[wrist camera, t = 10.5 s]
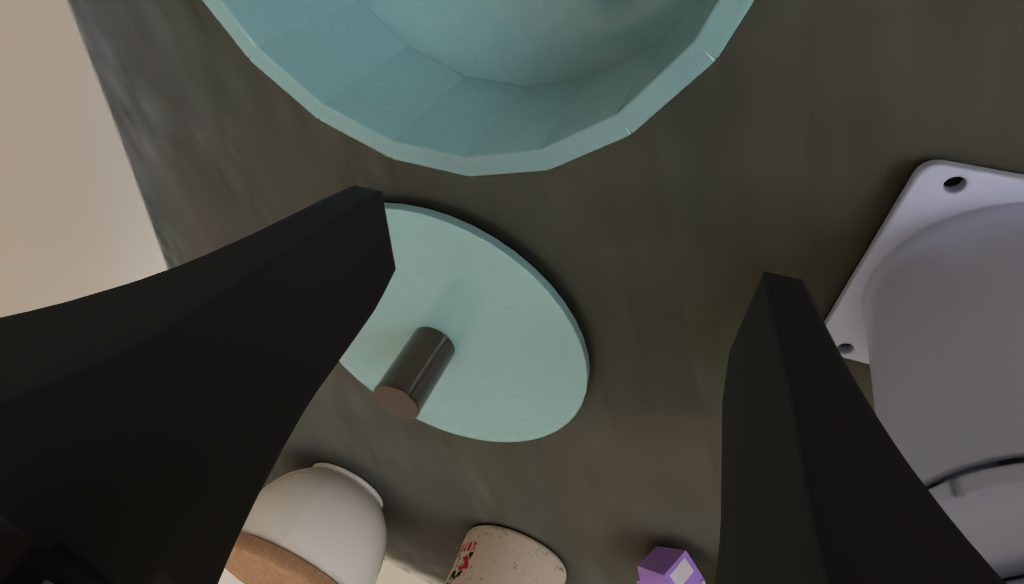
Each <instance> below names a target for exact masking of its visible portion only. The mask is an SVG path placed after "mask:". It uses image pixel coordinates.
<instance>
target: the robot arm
mask: <svg viewBox="0 0 1024 584" xmlns="http://www.w3.org/2000/svg"><path fill="white" fill-rule="evenodd" d="M952 177H962V178H963V180H962V181H961V182H960V183H959V184H957V185H954V186H945V185H944V182H946V181H947V180H948V179H950V178H952ZM395 270H396V267H395V262H394V256H393V251H392V245H391V240H390V234H389V228H388V223H387V217H386V212H385V206H384V201H383V195H382V191H378V190H373V189H368V188H364V187H359V186H352V187H350V188H347V189H345V190H343V191H340V192H338V193H336V194H334V195H332V196H329V197H327V198H325V199H323V200H321V201H319V202H317V203H315V204H313V205H311V206H309V207H307V208H305V209H303V210H301V211H299V212H297V213H295V214H293V215H291V216H289V217H287V218H284V219H282V220H280V221H278V222H276V223H274V224H272V225H270V226H268V227H266V228H264V229H262V230H260V231H258V232H256V233H254V234H251V235H249V236H247V237H245V238H243V239H240V240H238V241H236V242H234V243H231V244H229V245H227V246H225V247H222V248H220V249H218V250H216V251H213V252H211V253H209V254H207V255H204V256H202V257H200V258H197V259H195V260H192V261H190V262H187V263H185V264H182V265H180V266H177V267H174V268H172V269H169V270H166V271H163V272H161V273H158V274H155V275H152V276H149V277H147V278H144V279H141V280H138V281H135V282H132V283H129V284H126V285H123V286H119V287H116V288H113V289H109V290H105V291H102V292H99V293H95V294H92V295H89V296H85V297H82V298H78V299H75V300H72V301H68V302H64V303H61V304H57V305H53V306H49V307H44V308H40V309H36V310H32V311H29V312H24V313H19V314H15V315H10V316H6V317H1V318H0V584H218V582H219V579H220V577H221V575H222V572H223V570H224V568H225V566H226V563H227V561H228V559H229V556H230V554H231V552H232V550H233V547H234V545H235V543H236V540H237V538H238V536H239V534H240V532H241V530H242V528H243V526H244V524H245V522H246V520H247V518H248V516H249V513H250V511H251V509H252V507H253V505H254V503H255V501H256V499H257V497H258V495H259V493H260V491H261V489H262V487H263V485H264V483H265V481H266V479H267V478H268V476H269V474H270V472H271V470H272V468H273V466H274V464H275V462H276V460H277V458H278V457H279V455H280V453H281V451H282V449H283V447H284V446H285V444H286V442H287V440H288V438H289V437H290V435H291V433H292V431H293V430H294V428H295V426H296V424H297V423H298V421H299V419H300V417H301V416H302V414H303V412H304V410H305V409H306V407H307V406H308V404H309V403H310V401H311V400H312V398H313V397H314V395H315V393H316V392H317V391H318V389H319V388H320V386H321V385H322V384H323V382H324V381H325V379H326V378H327V377H328V375H329V374H330V372H331V371H332V370H333V368H334V367H335V366H336V364H337V363H338V361H339V360H340V359H341V357H342V356H343V354H344V353H345V352H346V350H347V349H348V347H349V346H350V345H351V343H352V342H353V341H354V339H355V338H356V336H357V335H358V333H359V332H360V331H361V329H362V328H363V326H364V325H365V324H366V322H367V321H368V319H369V318H370V316H371V315H372V313H373V312H374V310H375V309H376V307H377V305H378V303H379V302H380V300H381V298H382V296H383V294H384V292H385V290H386V288H387V286H388V284H389V282H390V280H391V278H392V276H393V274H394V272H395ZM844 343H847V344H851V345H849V346H842V345H840V344H844ZM843 357H844V358H848V359H852V360H855V361H859V362H863V363H866V364H870V372H871V380H872V389H873V397H874V406H875V412H874V411H873V409H872V407H871V406H870V404H869V402H868V401H867V399H866V397H865V396H864V394H863V392H862V391H861V389H860V387H859V385H858V384H857V382H856V380H855V378H854V377H853V375H852V373H851V371H850V370H849V368H848V366H847V364H846V363H845V361H844V359H843ZM715 584H1024V175H1023V174H1018V173H1012V172H1007V171H1001V170H996V169H991V168H985V167H980V166H974V165H969V164H963V163H958V162H952V161H947V160H931V161H927V162H924V163H923V164H921V165H919V166H918V167H917V168H916V169H915V171H914V172H913V173H912V175H911V177H910V178H909V180H908V182H907V183H906V185H905V187H904V189H903V190H902V192H901V194H900V195H899V197H898V199H897V200H896V202H895V204H894V205H893V207H892V209H891V210H890V212H889V214H888V215H887V217H886V219H885V220H884V222H883V224H882V225H881V227H880V229H879V230H878V232H877V234H876V235H875V237H874V239H873V241H872V242H871V244H870V246H869V247H868V249H867V251H866V252H865V254H864V256H863V257H862V259H861V261H860V262H859V264H858V266H857V267H856V269H855V271H854V272H853V274H852V276H851V277H850V279H849V281H848V282H847V284H846V286H845V288H844V289H843V291H842V293H841V294H840V296H839V298H838V299H837V301H836V303H835V304H834V306H833V308H832V309H831V311H830V313H829V314H828V316H827V318H826V319H825V321H823V319H822V317H821V315H820V313H819V311H818V309H817V306H816V304H815V302H814V300H813V298H812V296H811V294H810V292H809V290H808V288H807V286H806V284H805V283H804V281H803V280H801V279H797V278H792V277H787V276H782V275H778V274H773V273H768V272H764V273H763V275H762V278H761V280H760V282H759V285H758V287H757V289H756V291H755V294H754V296H753V298H752V301H751V303H750V305H749V308H748V310H747V312H746V314H745V317H744V319H743V321H742V324H741V326H740V328H739V331H738V333H737V335H736V338H735V340H734V342H733V344H732V347H731V349H730V353H729V359H728V366H727V373H726V380H725V387H724V394H723V407H722V484H721V529H720V545H719V554H718V562H717V571H716V580H715Z"/></svg>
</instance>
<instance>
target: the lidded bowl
mask: <svg viewBox="0 0 1024 584" xmlns="http://www.w3.org/2000/svg"><path fill="white" fill-rule="evenodd" d="M382 508H383V500H382V498H381V497H380V495H379V494H378V493H377V491H376V490H375V489H374V488H373V487H372V486H371V485H369V484H368V483H367V482H366V481H364V480H363V479H362V478H360V477H359V476H357V475H355V474H354V473H352V472H350V471H348V470H346V469H344V468H342V467H339V466H336V465H333V464H329V463H316V464H314V465H313V466H312V467H310V468H304V469H299V470H296V471H292V472H289V473H287V474H285V475H283V476H281V477H279V478H277V479H276V480H274V481H273V482H271V483H270V484H268V485H267V486H266V487H265V488H264V489H262V490H261V491H260V493H259V495H258V497H257V499H256V501H255V503H254V505H253V507H252V509H251V511H250V513H249V516H248V518H247V520H246V522H245V524H244V526H243V528H242V530H241V532H240V534H239V536H238V538H237V540H236V543H235V545H234V547H233V550H232V552H231V554H230V556H229V559H228V561H227V563H226V566H225V568H226V569H227V570H228V571H229V572H230V573H232V574H233V575H234V576H235V577H236V578H238V579H239V580H240V581H242V582H243V583H244V584H375V582H376V580H377V577H378V574H379V572H380V569H381V566H382V563H383V559H384V556H385V549H386V543H387V529H386V523H385V518H384V515H383V512H382Z"/></svg>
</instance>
